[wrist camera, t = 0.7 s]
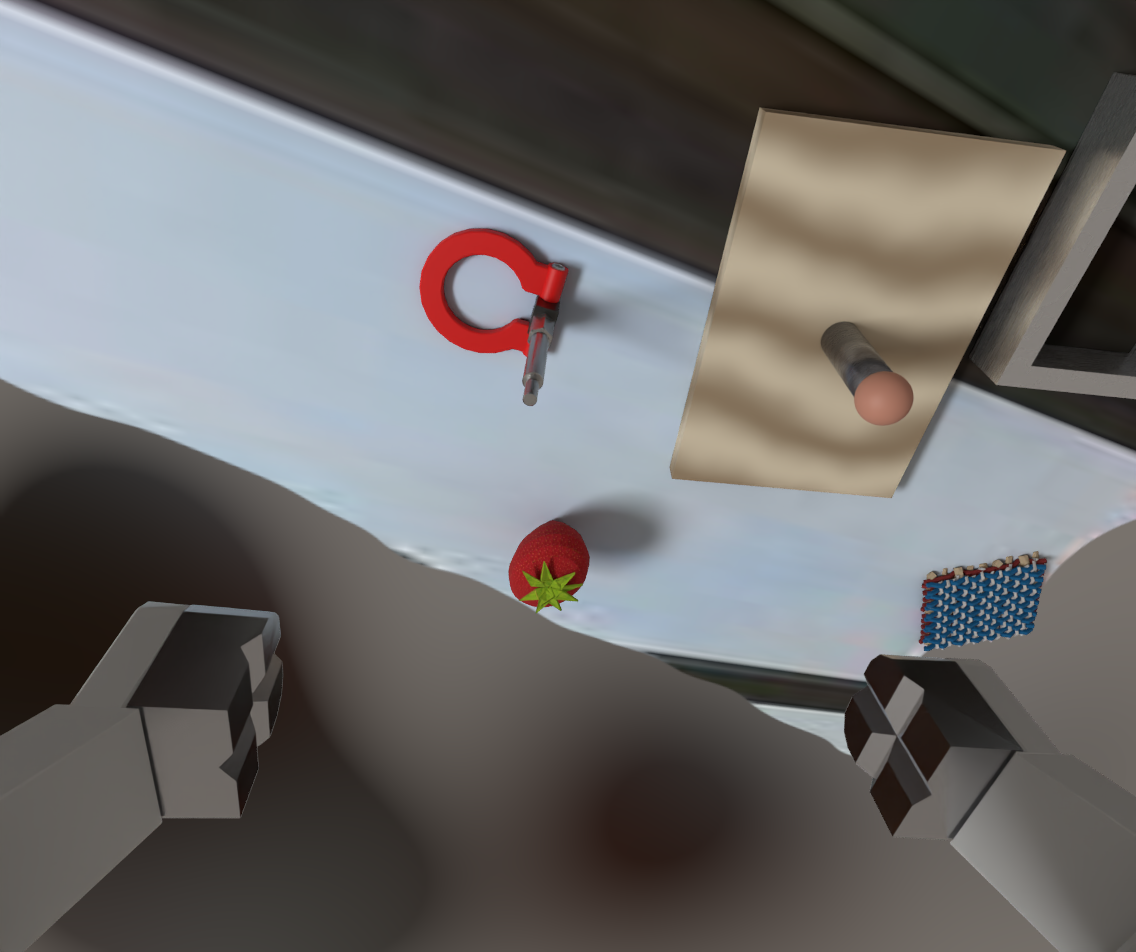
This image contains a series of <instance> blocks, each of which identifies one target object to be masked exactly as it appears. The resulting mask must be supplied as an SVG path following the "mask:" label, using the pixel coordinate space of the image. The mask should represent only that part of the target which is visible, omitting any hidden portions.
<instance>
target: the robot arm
mask: <svg viewBox="0 0 1136 952" xmlns="http://www.w3.org/2000/svg"><path fill="white" fill-rule="evenodd" d="M280 636H281V634H280V624H279V616H278V615H277V614H276V613H274V612H265V611H254V610H244V609H233V608H222V607H210V606H200V605H191V606H189V605H179V604H169V603H159V602H147V603H145V604H144V605H142V606H141V607H139V608H138V609H137V610H136V611H135V612H134V614H133V615H132V617H131V618H130V620H129V621H128V622H127V624H126V625H125V627H124V628H123V630H122V631H121V632H120V634H119V635H118V637H117V638H116V640H115V641H114V643H113V644H112V645H111V647H110V648H109V650H108V651H107V652H106V654H105V655H104V657H103V658H102V660H101V661H100V662H99V664H98V665H97V667H96V668H95V670H94V671H93V672H92V674H91V675H90V677H89V678H88V680H87V681H86V682H85V684H84V685H83V687H82V689H81V690H80V691H79V693H78V694H77V695H76V697H75V698H74V700H73V701H72V703H71V704H70V705H54V706H52V707H50V708H48V709H47V710H45V711H43V712H42V713H40V714H38V715H36V716H35V717H33V718H31V719H29V720H28V721H26V722H24V723H22V724H21V725H19V726H17V727H15V728H14V729H12V730H10V731H8V732H7V733H5V734H3V735H1V736H0V952H24V951H25V950H26V949H27V948H28V947H29V946H30V945H31V944H33V943H34V942H35V941H36V940H37V939H38V938H39V937H40V936H41V935H42V934H43V933H44V932H45V931H46V930H48V929H49V927H51V926H52V925H53V924H54V923H55V922H56V921H57V920H58V919H59V918H60V917H61V916H62V915H64V914H65V912H67V911H68V910H69V909H70V908H71V907H72V906H73V905H74V904H75V903H76V902H77V901H79V900H80V899H81V898H82V897H83V896H84V895H85V894H86V893H87V892H88V891H89V890H90V889H91V888H93V887H94V886H95V885H96V884H97V883H98V882H99V881H100V880H101V879H102V878H103V877H104V876H105V875H106V874H107V873H109V872H110V871H111V870H112V869H113V868H114V867H115V866H116V865H117V864H118V863H119V862H120V861H121V860H123V859H124V858H125V857H126V856H127V855H128V854H129V853H130V852H131V851H132V850H133V849H134V848H135V847H137V846H138V845H139V844H140V843H141V842H142V841H143V840H144V839H145V838H146V837H147V836H148V835H149V834H151V832H152V831H154V830H155V829H156V828H157V827H158V826H159V825H160V824H161V823H162V818H241V815H242V812H243V809H244V807H245V804H246V801H247V799H248V796H249V793H250V791H251V788H252V785H253V782H254V779H255V777H256V774H257V771H258V769H259V767H258V753H257V747H258V746H259V745H260V744H262V743H263V742H264V741H265V740H267V739H268V738H269V737H270V735H271V732H272V729H273V726H274V723H275V720H276V717H277V713H278V708H279V703H280V699H281V694H282V682H283V669H282V661H281V660H280V659H279V658H278V657H277V656H276V655H275V654H274V651H275V649H276V646H277V644H278V641H279V638H280ZM864 676H865V678H866V681H867V684H868V686H867V687H865V688H864V689H862V690H861V691H859V692H858V693H856V694H855V695H853V696H852V698H851V700H850V703H849V705H848V707H847V709H846V711H845V721H844V734H845V738H846V742H847V746H848V749H849V751H850V753H851V755H852V757H853V759H854V761H855V763H856V764H857V765H858V766H859V767H860V768H862V769H863V770H864V771H865V772H866V773H867V774H869V775H870V776H871V777H872V778H873V779H872V784H871V788H870V793H871V795H872V797H873V799H874V801H875V803H876V805H877V807H878V809H879V811H880V813H881V815H882V817H883V819H884V821H885V823H886V825H887V827H888V829H889V831H890V833H891V835H892V837H902V838H904V837H905V838H919V839H937V840H952V842H951V843H950V844H951V845H952V846H953V847H954V848H955V849H956V850H957V851H958V852H959V853H960V854H961V855H962V856H963V857H964V858H965V859H966V860H967V861H968V862H969V863H970V864H971V865H972V866H974V868H975V869H976V870H977V871H978V872H980V874H981V875H983V877H984V878H986V880H988V881H989V882H990V883H991V884H992V885H993V886H994V887H995V888H996V889H997V890H998V891H999V892H1000V893H1001V894H1002V895H1003V896H1004V897H1005V898H1006V899H1007V900H1008V901H1009V902H1010V903H1011V904H1012V905H1013V906H1014V907H1015V908H1016V909H1017V910H1018V911H1019V912H1020V913H1021V914H1022V915H1023V916H1024V917H1025V918H1026V919H1027V920H1028V921H1029V922H1030V923H1031V924H1032V925H1033V926H1034V927H1035V928H1036V929H1037V930H1038V931H1039V932H1040V933H1041V934H1042V935H1043V936H1044V937H1045V938H1046V939H1047V940H1048V941H1049V942H1050V943H1051V944H1052V945H1053V946H1054V947H1055V948H1056V949H1057V950H1058V951H1059V952H1136V797H1135V796H1134V795H1133V794H1131V793H1130V792H1128V791H1126V790H1125V789H1123V788H1122V787H1120V786H1119V785H1117V784H1116V783H1114V782H1113V781H1111V780H1110V779H1108V778H1107V777H1105V776H1104V775H1102V774H1101V773H1099V772H1098V771H1096V770H1094V769H1093V768H1091V767H1090V766H1088V765H1087V764H1085V763H1084V762H1082V761H1081V760H1079V759H1078V758H1076V757H1075V756H1073V755H1068V754H1061V753H1060V751H1059V750H1058V749H1057V748H1056V746H1055V745H1054V744H1053V743H1052V741H1051V740H1050V739H1049V738H1048V737H1047V735H1046V734H1045V733H1044V732H1043V730H1042V729H1041V728H1040V727H1039V725H1038V724H1037V723H1036V722H1035V721H1034V719H1033V718H1032V717H1031V716H1030V714H1029V713H1028V712H1027V711H1026V710H1025V708H1024V707H1023V706H1022V705H1021V703H1020V702H1019V701H1018V700H1017V698H1016V697H1015V696H1014V695H1013V694H1012V692H1011V691H1010V690H1009V689H1008V687H1007V686H1006V685H1005V684H1004V683H1003V681H1002V680H1001V679H1000V678H999V676H998V675H997V674H996V673H995V672H994V670H993V669H992V668H991V667H990V666H988V665H987V664H985V663H984V662H982V661H980V660H974V659H955V658H945V659H942V658H931V657H915V656H899V655H882V654H880V655H878V656H877V657H876V658H874V659H873V660H871V662H870V663H869V665H868V667H867V669H866V671H865V673H864Z"/></svg>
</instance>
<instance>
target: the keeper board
mask: <svg viewBox="0 0 1136 952" xmlns="http://www.w3.org/2000/svg"><path fill="white" fill-rule="evenodd" d="M1065 153H1066V150H1063V149H1060V148H1058V147H1055V146H1052V145H1046V144H1038V143H1030V142H1023V141H1015V140H1007V139H999V138H992V137H984V136H976V135H969V134H961V133H953V132H946V131H938V130H930V129H922V128H915V127H907V126H899V125H892V124H884V123H876V122H869V121H861V120H853V119H845V118H838V117H830V116H822V115H815V114H807V113H799V112H792V111H784V110H776V109H768V108H761V107H760V109H759V113H758V117H757V121H756V124H755V128H754V132H753V136H752V140H751V144H750V148H749V152H748V156H747V160H746V164H745V168H744V172H743V176H742V180H741V184H740V188H739V192H738V196H737V200H736V204H735V208H734V212H733V216H732V220H731V224H730V228H729V232H728V236H727V240H726V244H725V248H724V252H723V256H722V260H721V264H720V268H719V272H718V276H717V280H716V284H715V288H714V292H713V296H712V300H711V304H710V308H709V312H708V316H707V320H706V324H705V328H704V332H703V336H702V340H701V344H700V348H699V352H698V356H697V360H696V364H695V368H694V372H693V376H692V380H691V384H690V388H689V392H688V396H687V400H686V404H685V408H684V412H683V416H682V420H681V424H680V428H679V432H678V436H677V440H676V444H675V448H674V452H673V456H672V460H671V464H670V471H671V476H672V479H682V480H693V481H704V482H716V483H727V484H738V485H750V486H761V487H772V488H784V489H795V490H806V491H818V492H829V493H840V494H852V495H863V496H874V497H885V498H892V496H893V494H894V492H895V490H896V488H897V486H898V484H899V482H900V480H901V478H902V476H903V474H904V472H905V470H906V468H907V466H908V464H909V462H910V460H911V458H912V456H913V454H914V452H915V450H916V448H917V446H918V444H919V442H920V440H921V438H922V436H923V434H924V432H925V430H926V428H927V427H928V425H929V423H930V421H931V419H932V417H933V415H934V413H935V411H936V409H937V407H938V405H939V403H940V401H941V399H942V397H943V395H944V393H945V391H946V389H947V387H948V385H949V383H950V381H951V379H952V377H953V375H954V373H955V371H956V369H957V367H958V365H959V363H960V361H961V359H962V357H963V355H964V353H965V351H966V349H967V347H968V345H969V343H970V341H971V339H972V337H973V335H974V333H975V331H976V329H977V327H978V325H979V323H980V321H981V319H982V317H983V315H984V313H985V311H986V309H987V307H988V305H989V303H990V302H991V300H992V298H993V296H994V294H995V292H996V290H997V288H998V286H999V284H1000V282H1001V280H1002V278H1003V276H1004V274H1005V272H1006V270H1007V268H1008V266H1009V264H1010V262H1011V260H1012V258H1013V256H1014V254H1015V252H1016V250H1017V248H1018V246H1019V244H1020V242H1021V240H1022V238H1023V236H1024V234H1025V232H1026V230H1027V228H1028V226H1029V224H1030V222H1031V220H1032V218H1033V216H1034V214H1035V212H1036V210H1037V208H1038V206H1039V204H1040V202H1041V200H1042V198H1043V196H1044V194H1045V192H1046V190H1047V188H1048V186H1049V184H1050V182H1051V180H1052V178H1053V176H1054V175H1055V173H1056V171H1057V169H1058V167H1059V165H1060V163H1061V161H1062V159H1063V157H1064V155H1065Z"/></svg>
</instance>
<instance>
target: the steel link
mask: <svg viewBox="0 0 1136 952" xmlns="http://www.w3.org/2000/svg"><path fill="white" fill-rule="evenodd" d="M1135 184H1136V75H1130V74H1123V73H1116V72H1114V73H1113V75H1112V77H1111V79H1110V81H1109V83H1108V85H1107V87H1106V89H1105V91H1104V93H1103V95H1102V97H1101V99H1100V101H1099V103H1098V105H1097V107H1096V109H1095V111H1094V113H1093V114H1092V116H1091V118H1090V120H1089V122H1088V124H1087V126H1086V128H1085V130H1084V132H1083V134H1082V136H1081V138H1080V140H1079V142H1078V144H1077V146H1076V148H1075V150H1074V152H1073V154H1072V156H1071V158H1070V160H1069V162H1068V163H1067V165H1066V167H1065V169H1064V171H1063V173H1062V175H1061V177H1060V179H1059V181H1058V183H1057V185H1056V187H1055V189H1054V191H1053V193H1052V195H1051V197H1050V199H1049V201H1048V203H1047V205H1046V207H1045V209H1044V211H1043V213H1042V214H1041V216H1040V218H1039V220H1038V222H1037V224H1036V226H1035V228H1034V230H1033V232H1032V234H1031V236H1030V238H1029V240H1028V242H1027V244H1026V246H1025V248H1024V250H1023V252H1022V254H1021V256H1020V258H1019V260H1018V262H1017V263H1016V265H1015V267H1014V269H1013V271H1012V273H1011V275H1010V277H1009V279H1008V281H1007V283H1006V285H1005V287H1004V289H1003V291H1002V293H1001V295H1000V297H999V299H998V301H997V303H996V305H995V307H994V309H993V311H992V313H991V314H990V316H989V318H988V320H987V322H986V324H985V326H984V328H983V330H982V332H981V334H980V336H979V338H978V340H977V342H976V344H975V346H974V348H973V350H972V352H971V354H970V356H969V358H970V359H971V360H972V361H973V362H974V363H975V364H976V365H977V366H978V367H979V368H980V369H981V370H982V371H983V372H984V373H985V374H986V375H987V376H988V377H989V378H990V379H991V380H992V381H993V382H994V383H995V384H996V385H1004V386H1014V387H1023V388H1033V389H1043V390H1053V391H1062V392H1072V393H1082V394H1092V395H1102V396H1111V397H1121V398H1131V399H1136V344H1135V345H1134V347H1133V348H1132V350H1131V351H1130V353H1122V352H1112V351H1103V350H1094V349H1084V348H1075V347H1066V346H1056V345H1047V344H1044V343H1045V341H1046V339H1047V337H1048V336H1049V334H1050V332H1051V330H1052V329H1053V327H1054V325H1055V323H1056V322H1057V320H1058V318H1059V316H1060V315H1061V313H1062V311H1063V309H1064V308H1065V306H1066V304H1067V302H1068V301H1069V299H1070V297H1071V296H1072V294H1073V292H1074V290H1075V289H1076V287H1077V285H1078V283H1079V282H1080V280H1081V278H1082V276H1083V275H1084V273H1085V271H1086V269H1087V268H1088V266H1089V264H1090V262H1091V261H1092V259H1093V257H1094V255H1095V254H1096V252H1097V250H1098V248H1099V247H1100V245H1101V243H1102V242H1103V240H1104V238H1105V236H1106V235H1107V233H1108V231H1109V229H1110V228H1111V226H1112V224H1113V222H1114V221H1115V219H1116V217H1117V215H1118V214H1119V212H1120V210H1121V208H1122V207H1123V205H1124V203H1125V201H1126V200H1127V198H1128V196H1129V195H1130V193H1131V191H1132V189H1133V188H1134V186H1135Z"/></svg>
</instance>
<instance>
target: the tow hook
mask: <svg viewBox="0 0 1136 952" xmlns="http://www.w3.org/2000/svg"><path fill="white" fill-rule="evenodd" d="M471 255H487V256H491V257H495V258H497V259H499V260H501V261H503V262H504V263H506V264H507V265H508V266H509V267H510V268H511V269H512V270H513V271H514V272H515V274H516V275H517V277H518V278H519V280H520V282H521V286H522V288H523V289H524V290H525V291H527V292H530V293H533V294H536V295H537V298H536V301H535V305H534V308H533V312H532V315H531V318H530V322H528V321H525V320H521V319H518V318H517V319H514V320H513V321H512V322H511V323H509V324H507V325H505V326H503V327H501V328H497V329H493V330H481V329H477V328H473V327H471V326H469V325H467V324H465V323H463V322H462V321H461V320H460V319H458V318H457V317H456V316H455V315H454V314H453V312H452V311H451V309H450V308H449V306H448V304H447V301H446V299H445V294H444V281H445V276H446V274H447V272H448V270H449V269H450V268H451V267H452V265H453V264H454V263H456V262H457V261H459V260H461V259H462V258H464V257H468V256H471ZM568 271H569V270H568V268H566V267H565V266H563V265H561V264H558V263H549V264H548V265H547V264H543V263H540V262H537V261H536V260H535V258H534V256H533V255H532V253H531V252H530V251H528V250H527V249H526V248H525V247H524V246H523V245H522V244H521V243H520V242H519V241H517V240H515V239H514V238H512V237H510V236H508V235H507V234H505V233H502V232H498V231H494V230H491V229H467V230H464V231H460V232H456V233H454V234H452V235H450V236H449V237H447V238H446V239H444V240H442V241H441V242H440V243H439V244H438V245H437V246H436V247H435V249H434V250H433V251H432V252H431V253H430V255H429V256H428V258H427V260H426V263H425V265H424V267H423V269H422V272H421V280H420V294H421V302H422V305H423V307H424V310H425V312H426V315H427V317H428V319H429V320H430V322H431V323H432V324H433V326H434V327H435V328H436V330H437V331H438V332H439V333H440V334H442V335H443V336H444V337H445V338H446V339H447V340H449V341H450V342H452V343H454V344H455V345H457V346H459V347H461V348H463V349H466V350H470V351H474V352H478V353H498V352H502V351H506V350H510V349H516V350H519V351H522V352H523V354H524V355H525V356H527V359H526V364H525V370H524V375H523V380H522V382H523V385H524V387H525V389H524V395H523V402H524V404H526V405H528V406H533V405H535V404H536V402H537V396H538V390H539V389H540V388H541V387H542V385H543V381H544V374H545V367H546V360H547V353H548V348H549V347H550V344H551V341H552V338H553V331H554V326H555V323H556V320H557V317H558V313H559V305H560V301H559V300H560V296H561V293H562V290H563V287H564V284H565V280H566V277H567V274H568Z"/></svg>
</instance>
